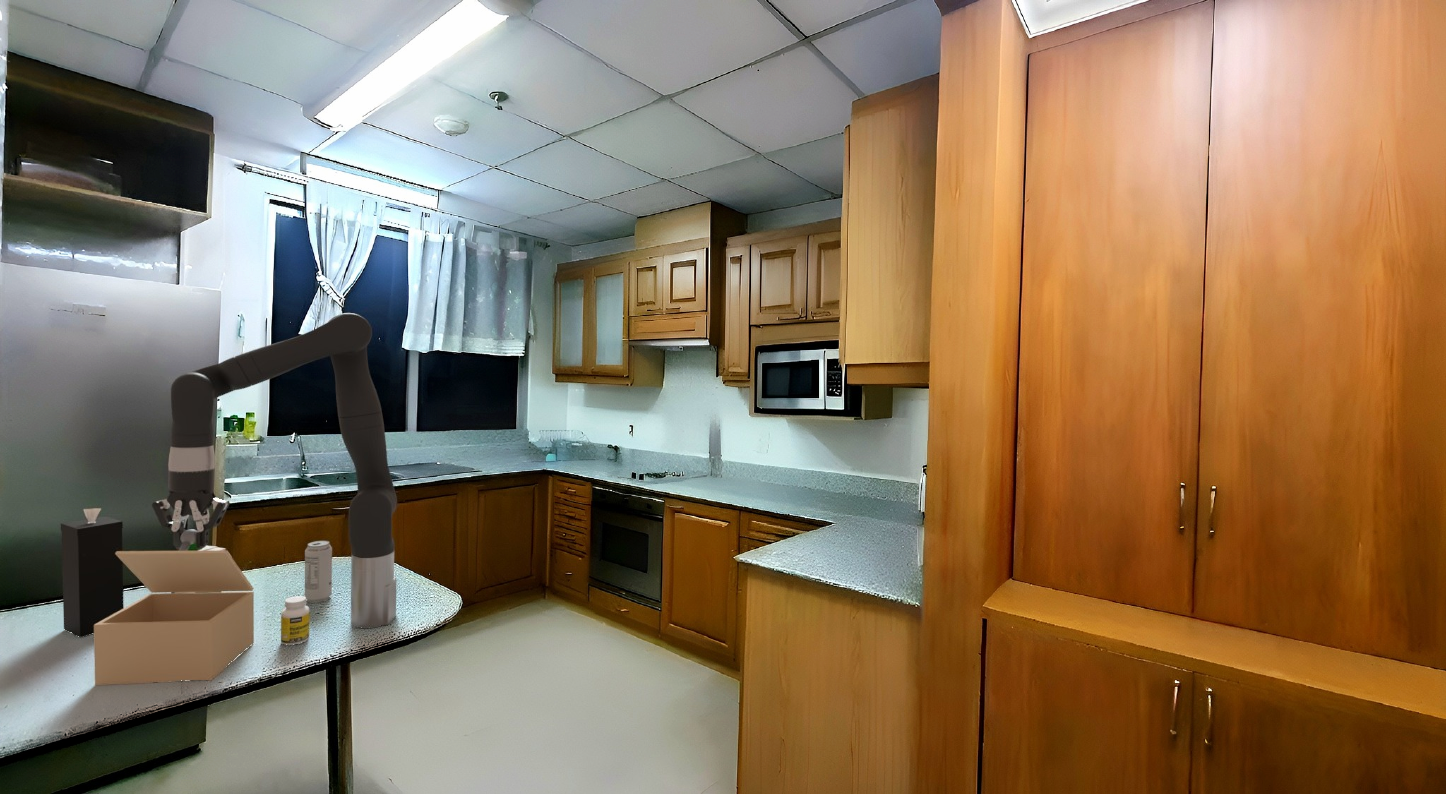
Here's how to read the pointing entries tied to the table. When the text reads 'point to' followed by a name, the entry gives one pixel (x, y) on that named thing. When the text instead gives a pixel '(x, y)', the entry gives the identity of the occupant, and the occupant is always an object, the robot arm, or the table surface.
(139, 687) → the table surface
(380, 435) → the robot arm
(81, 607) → the tall black box
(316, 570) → the energy drink can
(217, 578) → the flap
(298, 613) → the supplement bottle
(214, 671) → the carton
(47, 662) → the table surface
